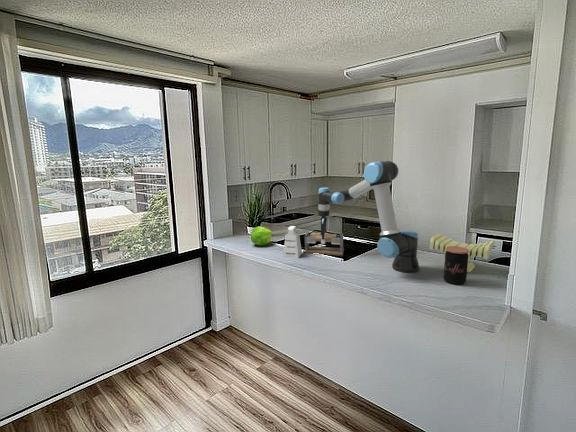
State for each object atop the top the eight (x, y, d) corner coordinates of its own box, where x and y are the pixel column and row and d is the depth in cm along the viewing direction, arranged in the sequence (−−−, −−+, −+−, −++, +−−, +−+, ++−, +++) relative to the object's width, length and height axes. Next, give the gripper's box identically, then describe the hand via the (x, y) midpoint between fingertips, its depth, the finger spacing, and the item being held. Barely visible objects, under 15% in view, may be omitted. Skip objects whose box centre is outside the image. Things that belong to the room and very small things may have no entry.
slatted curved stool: (428, 265, 195) (430, 237, 192) (437, 259, 207) (439, 232, 203) (485, 277, 175) (488, 246, 172) (491, 269, 186) (494, 240, 183)
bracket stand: (342, 255, 218) (342, 236, 216) (303, 253, 225) (303, 235, 222) (343, 249, 231) (344, 232, 228) (306, 248, 237) (306, 230, 235)
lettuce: (277, 243, 254) (278, 227, 247) (258, 252, 240) (259, 236, 234) (264, 235, 262) (265, 221, 256) (245, 244, 249) (245, 229, 243)
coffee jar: (440, 281, 171) (442, 249, 168) (447, 276, 178) (450, 244, 175) (461, 287, 163) (464, 253, 160) (468, 281, 171) (471, 248, 167)
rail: (335, 242, 222) (335, 235, 221) (310, 240, 228) (310, 233, 227) (336, 240, 225) (337, 233, 224) (312, 239, 231) (312, 232, 230)
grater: (283, 257, 218) (282, 228, 214) (287, 252, 228) (287, 225, 224) (298, 258, 215) (297, 229, 211) (302, 253, 225) (301, 225, 221)
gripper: (327, 212, 213) (327, 246, 218) (330, 208, 230) (330, 239, 234) (316, 212, 215) (316, 245, 219) (320, 207, 231) (320, 239, 236)
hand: (323, 242), depth 227 cm, fingers closed on rail, 4 cm apart
